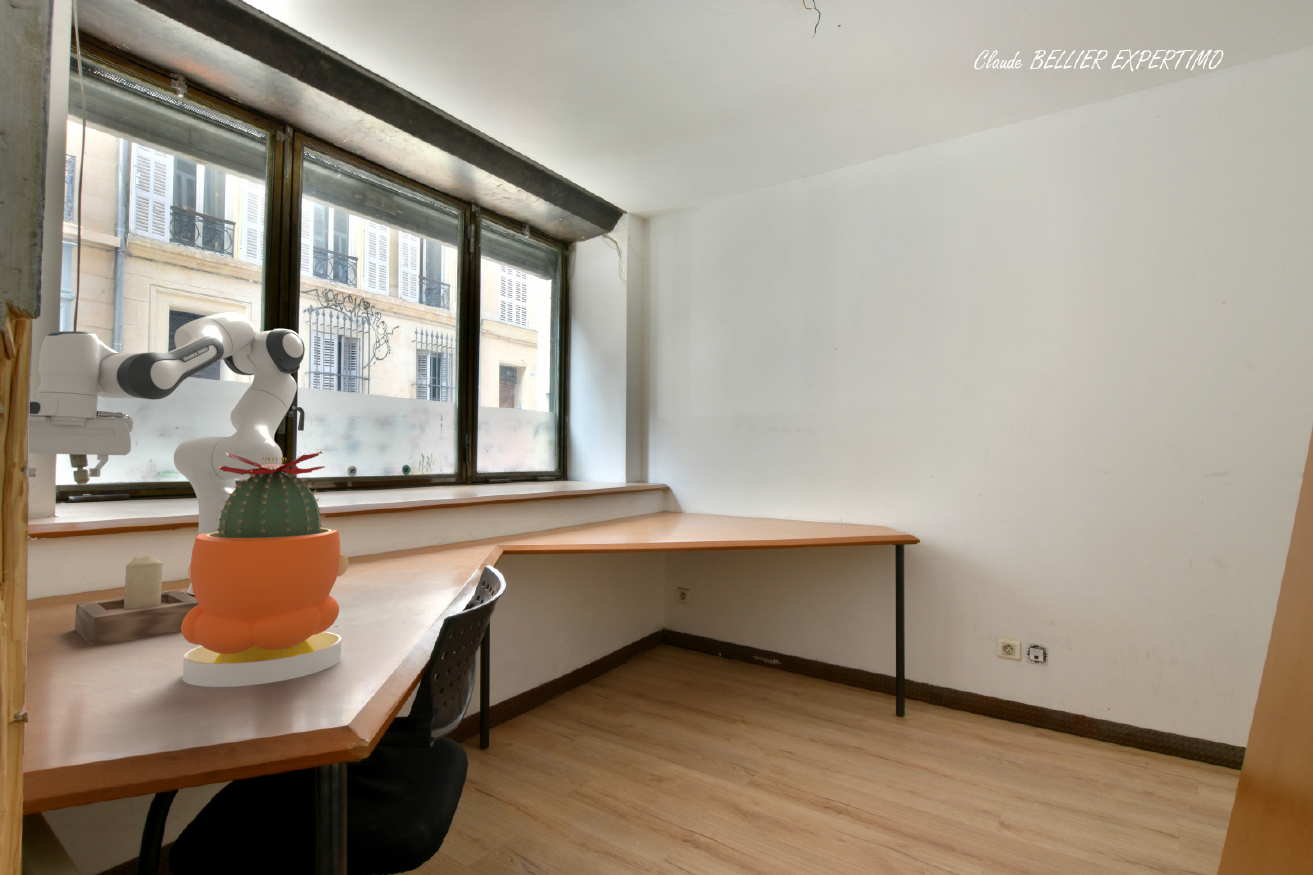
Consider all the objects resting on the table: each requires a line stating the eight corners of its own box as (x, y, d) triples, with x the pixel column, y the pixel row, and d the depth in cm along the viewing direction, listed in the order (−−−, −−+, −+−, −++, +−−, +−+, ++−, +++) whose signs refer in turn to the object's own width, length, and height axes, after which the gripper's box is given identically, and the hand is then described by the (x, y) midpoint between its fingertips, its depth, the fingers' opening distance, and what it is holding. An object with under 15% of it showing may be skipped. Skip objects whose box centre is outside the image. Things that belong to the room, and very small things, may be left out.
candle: (165, 606, 118) (167, 554, 120) (130, 610, 114) (133, 556, 115) (153, 605, 121) (156, 555, 123) (118, 610, 116) (121, 558, 118)
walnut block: (177, 616, 128) (178, 590, 128) (202, 629, 118) (203, 601, 119) (74, 632, 115) (76, 603, 116) (92, 648, 106) (94, 617, 106)
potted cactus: (199, 658, 100) (209, 449, 101) (348, 644, 109) (356, 452, 110) (150, 707, 80) (163, 447, 82) (337, 685, 89) (346, 450, 90)
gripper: (129, 413, 132) (125, 476, 131) (-9, 405, 115) (-14, 476, 115) (137, 412, 128) (133, 477, 127) (-4, 403, 112) (-9, 477, 111)
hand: (62, 477), depth 121 cm, fingers open, 8 cm apart
